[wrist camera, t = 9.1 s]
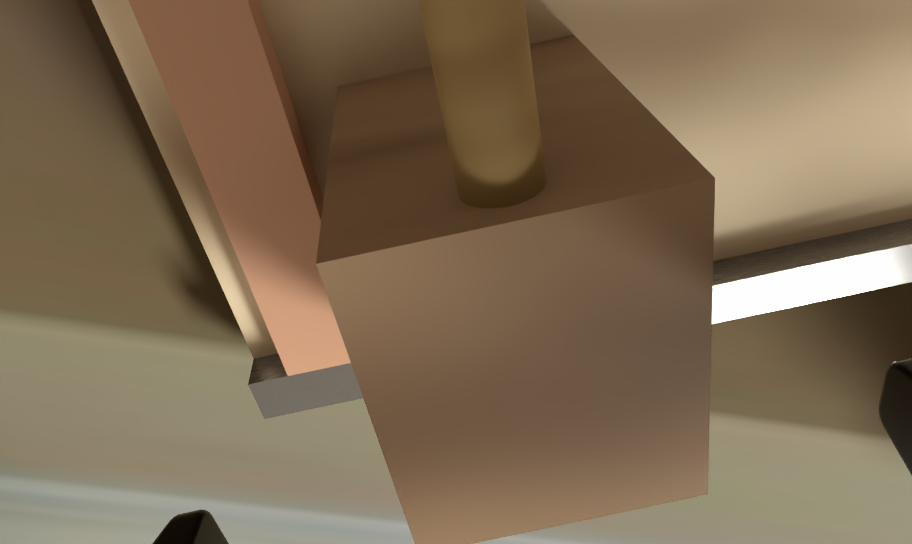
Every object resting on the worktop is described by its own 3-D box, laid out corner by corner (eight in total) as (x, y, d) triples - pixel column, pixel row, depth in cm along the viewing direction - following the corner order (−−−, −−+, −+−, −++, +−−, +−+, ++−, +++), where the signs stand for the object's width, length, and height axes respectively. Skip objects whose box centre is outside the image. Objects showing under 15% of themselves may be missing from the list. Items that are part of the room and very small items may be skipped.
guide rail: (1081, 220, 18) (1115, 238, 18) (269, 392, 19) (264, 418, 18) (1096, 179, 18) (1132, 196, 17) (253, 358, 18) (248, 384, 17)
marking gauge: (595, 272, 18) (707, 494, 12) (402, 313, 18) (418, 554, 12) (553, -195, 12) (724, -215, 6) (275, -133, 12) (189, -96, 6)
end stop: (367, 334, 18) (367, 359, 17) (291, 350, 18) (287, 376, 17) (169, -276, 11) (152, -284, 10) (46, -248, 11) (20, -255, 10)
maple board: (1020, 193, 20) (1079, 226, 18) (279, 350, 20) (271, 397, 19) (1224, -493, 13) (1355, -541, 11) (35, -227, 13) (-14, -235, 11)
